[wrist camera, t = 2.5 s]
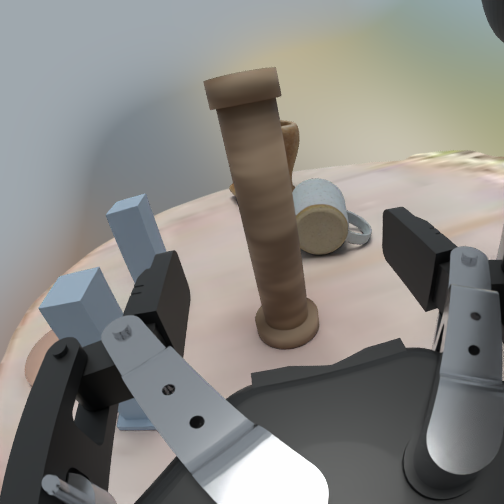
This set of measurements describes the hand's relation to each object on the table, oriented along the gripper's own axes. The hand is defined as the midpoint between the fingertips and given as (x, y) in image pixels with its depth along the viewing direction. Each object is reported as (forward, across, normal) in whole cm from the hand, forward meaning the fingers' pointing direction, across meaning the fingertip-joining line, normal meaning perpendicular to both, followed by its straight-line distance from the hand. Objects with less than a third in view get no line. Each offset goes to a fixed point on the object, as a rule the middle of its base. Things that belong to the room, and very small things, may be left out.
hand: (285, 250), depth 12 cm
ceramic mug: (+26, -9, +15) cm, 31 cm away
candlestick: (+12, 0, +15) cm, 19 cm away
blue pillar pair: (+12, +13, +15) cm, 23 cm away
